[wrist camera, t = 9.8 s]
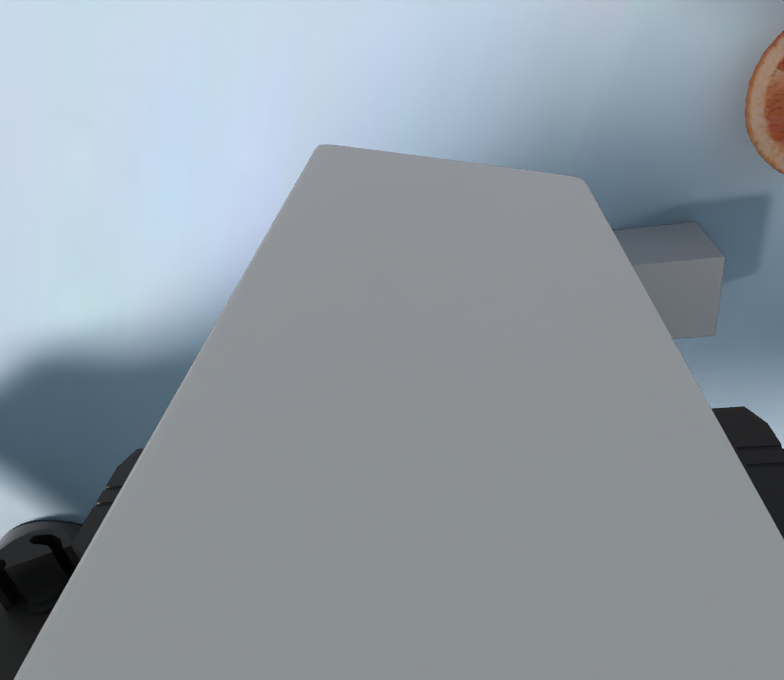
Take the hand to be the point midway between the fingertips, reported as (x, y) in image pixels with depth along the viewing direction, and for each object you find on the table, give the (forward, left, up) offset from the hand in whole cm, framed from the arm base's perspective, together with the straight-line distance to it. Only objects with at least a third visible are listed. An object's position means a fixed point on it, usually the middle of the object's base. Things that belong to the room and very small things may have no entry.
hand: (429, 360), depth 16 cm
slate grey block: (+12, -11, -25) cm, 30 cm away
